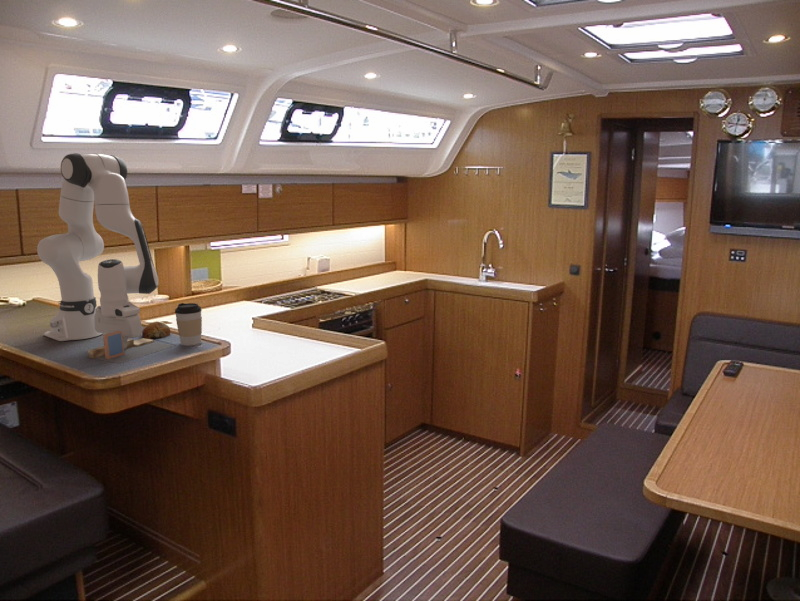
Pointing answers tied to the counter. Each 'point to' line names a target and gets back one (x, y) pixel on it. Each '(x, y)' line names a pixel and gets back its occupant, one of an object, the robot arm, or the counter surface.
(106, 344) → the tile
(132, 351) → the mat
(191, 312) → the coffee cup
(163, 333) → the bread roll
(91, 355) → the spatula
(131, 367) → the counter surface
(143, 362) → the counter surface
